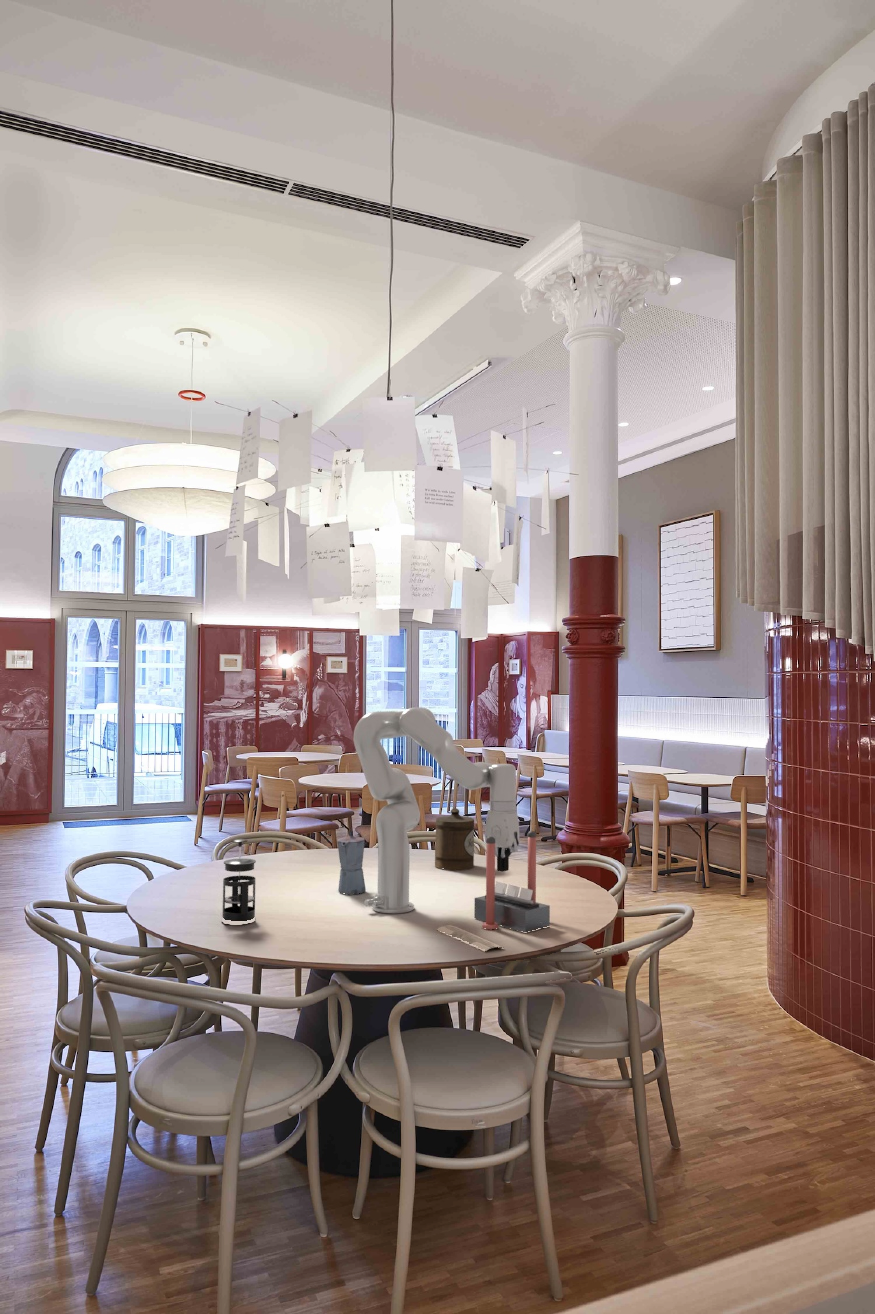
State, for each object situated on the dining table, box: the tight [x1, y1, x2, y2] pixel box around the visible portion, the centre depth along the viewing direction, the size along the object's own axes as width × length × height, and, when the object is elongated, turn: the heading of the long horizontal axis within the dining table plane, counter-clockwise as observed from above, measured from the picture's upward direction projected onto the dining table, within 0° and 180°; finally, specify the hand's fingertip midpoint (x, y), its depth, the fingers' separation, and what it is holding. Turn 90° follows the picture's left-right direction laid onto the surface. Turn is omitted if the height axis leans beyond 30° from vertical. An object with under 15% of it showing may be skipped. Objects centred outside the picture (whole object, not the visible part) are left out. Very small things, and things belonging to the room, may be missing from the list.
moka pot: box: [336, 830, 367, 895], centre depth 282 cm, size 10×15×20 cm, turn 166°
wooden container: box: [434, 807, 475, 871], centre depth 326 cm, size 15×15×22 cm
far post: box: [527, 830, 537, 902], centre depth 250 cm, size 4×4×25 cm
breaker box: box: [473, 894, 551, 932], centre depth 244 cm, size 10×20×7 cm, turn 41°
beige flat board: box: [436, 924, 505, 952], centre depth 226 cm, size 24×7×2 cm, turn 31°
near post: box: [481, 836, 499, 931], centre depth 239 cm, size 4×4×25 cm
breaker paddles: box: [495, 881, 534, 904], centre depth 244 cm, size 1×16×4 cm, turn 41°
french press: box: [221, 838, 256, 921], centre depth 243 cm, size 12×9×23 cm
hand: (502, 870), depth 247 cm, fingers closed
